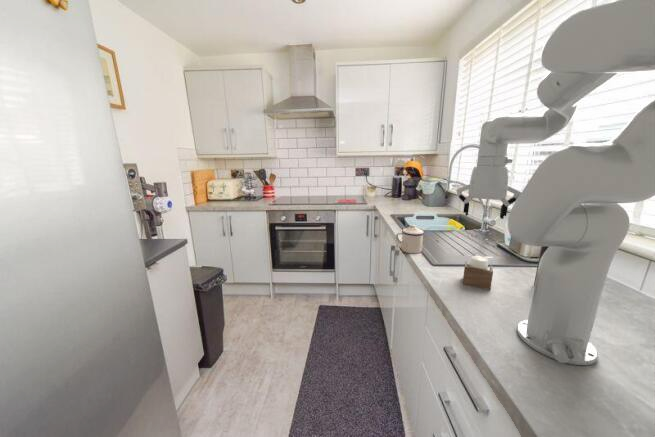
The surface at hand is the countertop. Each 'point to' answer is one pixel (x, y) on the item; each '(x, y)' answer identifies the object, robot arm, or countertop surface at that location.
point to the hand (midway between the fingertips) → (483, 216)
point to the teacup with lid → (411, 239)
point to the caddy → (477, 277)
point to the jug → (478, 262)
